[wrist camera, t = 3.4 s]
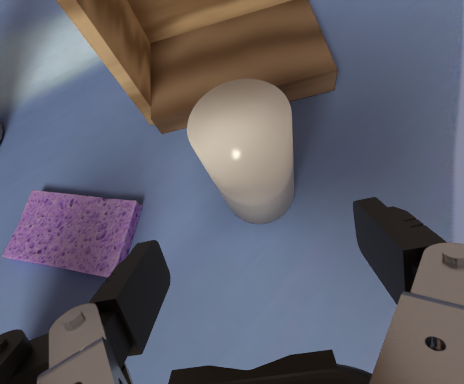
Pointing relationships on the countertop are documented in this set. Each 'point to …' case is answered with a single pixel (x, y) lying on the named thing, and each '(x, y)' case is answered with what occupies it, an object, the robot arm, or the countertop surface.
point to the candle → (246, 147)
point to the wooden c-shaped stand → (203, 49)
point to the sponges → (74, 232)
